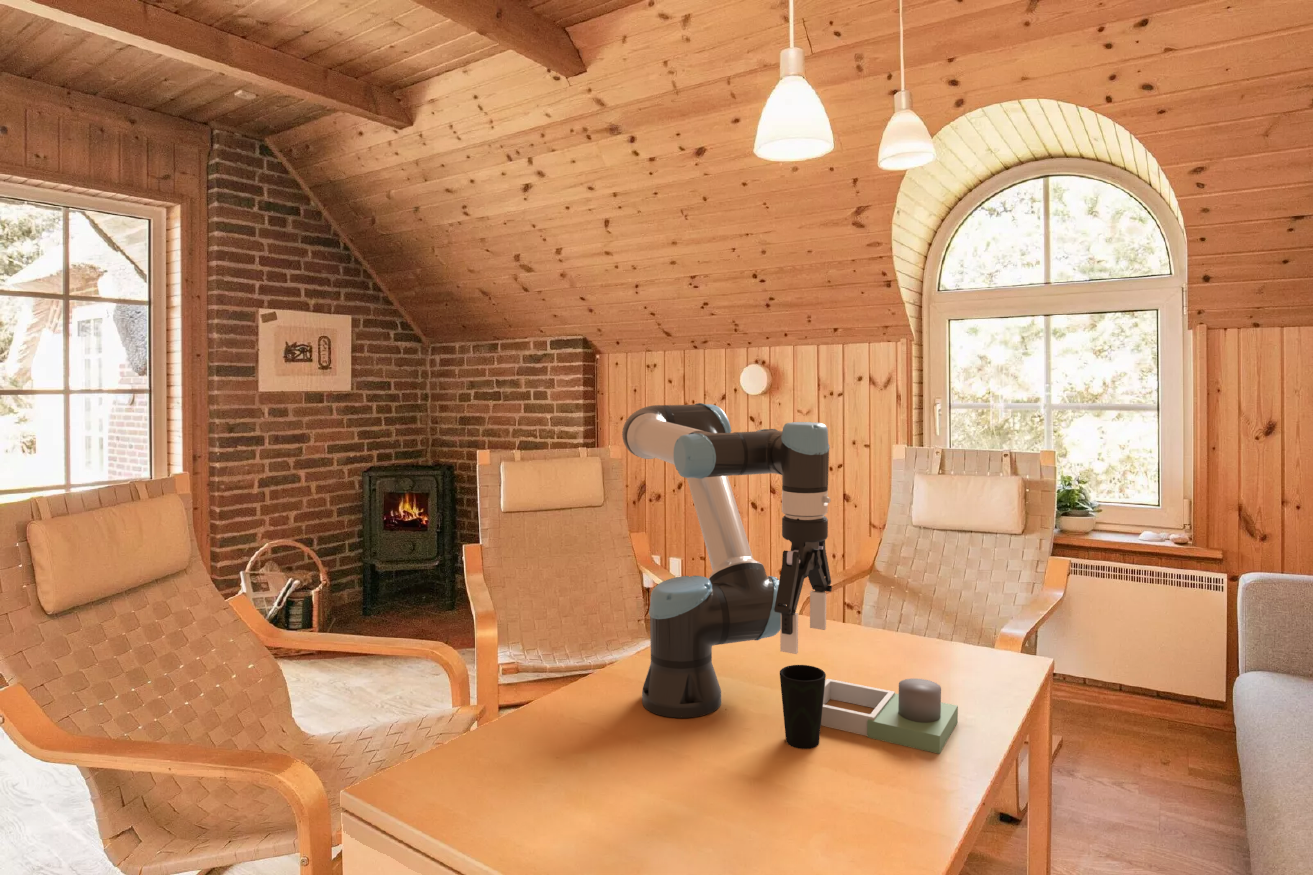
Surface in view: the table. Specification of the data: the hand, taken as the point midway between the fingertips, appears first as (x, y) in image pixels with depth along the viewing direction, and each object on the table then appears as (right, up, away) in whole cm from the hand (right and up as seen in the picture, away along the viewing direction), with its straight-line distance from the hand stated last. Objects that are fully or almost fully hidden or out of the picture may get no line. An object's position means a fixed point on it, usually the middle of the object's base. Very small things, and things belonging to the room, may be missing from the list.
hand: (804, 640), depth 136 cm
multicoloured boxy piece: (+15, -17, +8) cm, 24 cm away
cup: (0, -18, +1) cm, 18 cm away
